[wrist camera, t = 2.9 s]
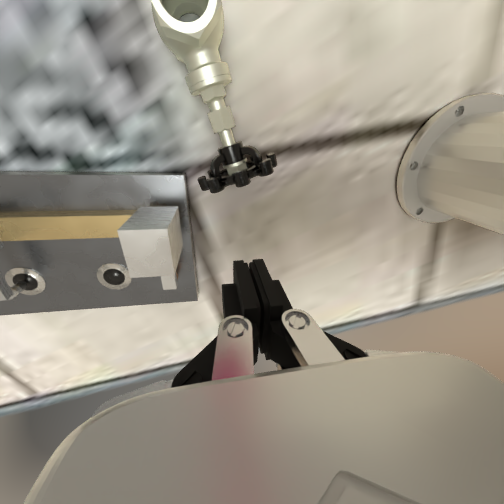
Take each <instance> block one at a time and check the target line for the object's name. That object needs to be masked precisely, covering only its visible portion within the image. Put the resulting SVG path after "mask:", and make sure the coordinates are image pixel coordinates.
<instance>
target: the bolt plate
mask: <svg viewBox="0 0 504 504" xmlns="http://www.w3.org/2000/svg"><path fill="white" fill-rule="evenodd" d="M168 206H178V209H179V217H180V225H181V232H182V240H183V247H182V251H181V254H180V258H179V262H178V265H177V269H176V273H177V274H178V280H177V282H178V285H177V289H170V290H163V286H162V281H161V276H156V277H139V278H130V275H129V272H128V268H127V264H126V261H125V257H124V254H123V250H122V246H121V243H120V239H119V236H118V232H117V230H118V229H119V228H120V227H121V226H122V225H123V224H124V223H125V222H126V221H127V220H128V219H129V218H130V217H131V216H132V215H133V214H134V213H135V212H136V211H137V210H138V209H139V208H140V207H168ZM186 301H198V284H197V274H196V265H195V255H194V246H193V237H192V227H191V218H190V208H189V199H188V190H187V180H186V173H166V172H35V171H0V315H12V314H25V313H38V312H52V311H65V310H79V309H92V308H106V307H119V306H133V305H146V304H160V303H173V302H186Z"/></svg>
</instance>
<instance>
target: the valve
mask: <svg viewBox="0 0 504 504" xmlns="http://www.w3.org/2000/svg"><path fill="white" fill-rule="evenodd" d="M151 1H152V12H153V17H154V21H155V24H156V27H157V30H158V33H159V35H160V37H161V38H162V40H163V42H164V43H165V45H166V46H167V47H168V48H169V50H170V51H171V52H172V53H173V54H175V55H176V57H177V59H178V61H181V62H184V63H185V64H186V67H187V70H188V73H189V74H187V76H186V77H185V78H186V82H187V85H188V87H189V90H190V93H191V95H192V96H198V95H201V96H202V99H203V102H204V104H206V103H207V104H208V106H209V109H210V113H208V116H209V119H210V122H211V125H212V128H213V131H214V134H216V133H219V135H220V138H221V141H222V145H223V147H221V148H218V153H219V155H218V156H216V157H215V158H214V159H213V160H212V162H211V168H210V169H211V170H210V171H208V175H209V179H207V180H206V177H205V176H202V177H200V178H198V182H199V184H200V187H201V189H202V190H203V191H206V190H209V189H210V192H211V193H217V192H220V191H222V190H224V188H225V187H226V186H229V185H233V184H235V185H236V187H243V186H246V185H248V184H249V183H250V182H251V181H250V179H251V178H253V177H255V176H258V175H259V176H267V175H270V174H272V173H273V167H276V166H277V161H276V156H275V153H269V154H266V156H267V159H265V160H264V161H263V160H262V156H261V154H260V153H259V151H258V150H257V149H256V148H254V147H252V146H243V144H242V141H238V142H235V140H234V136H233V133H232V130H231V128H233V127H235V122H234V119H233V116H232V112H231V109H230V106H228V107H226V106H225V102H224V97H225V96H226V91H225V88H224V86H226V85H228V84H229V83H231V81H232V79H231V76H230V72H229V68H228V65H227V63H226V62H221V58H220V55H219V51H218V48H219V45H220V42H221V39H222V36H223V30H224V14H223V8H222V2H221V0H151ZM186 13H195V14H197V15H199V16H200V18H199V19H198V20H196V21H194V22H181V21H179V19H180V17H181V16H183V15H184V14H186ZM245 154H249V155H251V157H250V159H251V161H248V162H246V161H247V158H246V155H245ZM220 163H222V164H223V167H224V168H225V169H224V170H222V171H219V165H220ZM226 168H227V169H226Z"/></svg>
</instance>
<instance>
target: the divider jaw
mask: <svg viewBox="0 0 504 504" xmlns="http://www.w3.org/2000/svg"><path fill="white" fill-rule="evenodd" d="M117 232H118V236H119V239H120V243H121V246H122V250H123V254H124V257H125V261H126V264H127V268H128V272H129V275H130V278H139V277H156V276H161V281H162V286H163V290H170V289H177V285H178V282H177V280H178V274H177V273H176V269H177V265H178V262H179V258H180V254H181V251H182V247H183V240H182V232H181V225H180V217H179V209H178V206H168V207H140V208H139V209H138V210H137V211H136V212H135V213H134V214H133V215H132V216H131V217H130V218H129V219H128V220H127V221H126V222H125V223H124V224H123V225H122V226H121V227H120V228H119V229H118V230H117Z"/></svg>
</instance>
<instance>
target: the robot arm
mask: <svg viewBox="0 0 504 504" xmlns="http://www.w3.org/2000/svg"><path fill="white" fill-rule="evenodd" d="M397 194H398V200H399V202H400V204H401V207H402V208H403V209H404V211H405V212H406V213H407V214H408V215H410V216H411V217H413V218H415V219H418V220H420V221H422V222H427V223H440V222H445V221H449V220H452V219H454V218H458V219H460V220H463V221H466V222H469V223H472V224H474V225H477V226H480V227H483V228H486V229H488V230H491V231H494V232H497V233H500V234H502V235H504V96H503V95H499V94H495V93H483V94H476V95H471V96H466V97H463V98H461V99H458V100H456V101H453V102H452V103H450V104H449V105H447V106H445V107H444V108H442V109H441V110H440V111H438V112H437V113H436V114H435V115H434V116H433V117H431V118H430V119H429V120H428V121H427V122H426V124H425V125H424V126H423V127H422V128H421V129H420V130H419V131H418V133H417V134H416V136H415V137H414V139H413V140H412V141H411V143H410V145H409V147H408V149H407V151H406V152H405V154H404V157H403V159H402V162H401V165H400V168H399V173H398V177H397ZM233 277H234V284H222V300H223V313H224V319H223V320H222V322H221V323H220V325H219V329H218V336H217V337H216V338H215V339H214V340H213V341H212V342H211V343H209V344H208V345H207V346H206V347H205V348H204V349H203V350H202V351H201V352H200V353H199V354H198V355H197V356H196V357H195V358H194V359H193V360H191V361H190V362H189V363H188V364H187V365H186V366H185V367H184V368H183V369H182V370H181V371H180V372H179V373H178V374H177V375H176V377H175V378H174V379H173V380H170V381H167V382H165V380H162V381H159V382H156V383H154V384H151V385H148V386H145V387H143V388H140V389H137V390H135V391H132V392H129V393H126V394H123V395H121V396H118V397H115V398H112V399H110V400H108V401H106V402H105V403H103V404H102V405H101V406H100V407H99V408H98V409H97V410H96V411H95V412H94V414H93V415H92V417H91V419H89V420H87V421H86V422H84V423H83V424H82V425H80V426H79V427H78V428H76V429H75V430H74V431H73V432H72V433H71V434H69V436H67V437H66V438H65V440H64V441H63V442H62V443H61V444H60V445H59V446H58V448H57V449H56V450H55V452H54V453H53V455H52V456H51V457H50V459H49V460H48V462H47V463H46V465H45V467H44V468H43V470H42V472H41V473H40V475H39V476H38V478H37V480H36V481H35V483H34V485H33V487H32V488H31V491H30V492H29V494H28V496H27V498H26V499H25V501H24V503H23V504H504V383H503V382H502V381H501V380H499V379H498V378H497V377H495V376H494V375H493V374H491V373H490V372H488V371H487V370H485V369H484V368H482V367H481V366H479V365H477V364H476V363H473V362H471V361H469V360H466V359H463V358H460V357H457V356H453V355H448V354H443V353H436V352H391V351H377V350H366V352H363V351H362V350H361V349H359V348H357V347H355V346H353V345H351V344H349V343H347V342H345V341H343V340H341V339H339V338H337V337H334V336H332V335H330V334H328V333H326V332H324V331H322V330H321V328H320V327H319V326H318V325H317V323H316V322H315V321H314V319H313V318H312V317H311V316H310V315H309V314H308V313H306V312H305V311H302V310H299V309H293V308H292V306H291V304H290V302H289V300H288V298H287V296H286V294H285V292H284V290H283V288H282V286H281V284H280V282H279V280H272V279H271V276H270V274H269V272H268V270H267V267H266V265H265V263H264V261H263V259H255V260H253V262H250V263H249V267H248V264H247V263H244V261H243V260H240V261H233ZM259 348H260V352H261V354H262V353H264V354H265V357H266V360H270V359H271V360H273V361H274V362H276V367H277V371H270V372H264V373H258V374H254V365H255V363H256V362H257V356H258V349H259Z"/></svg>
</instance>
